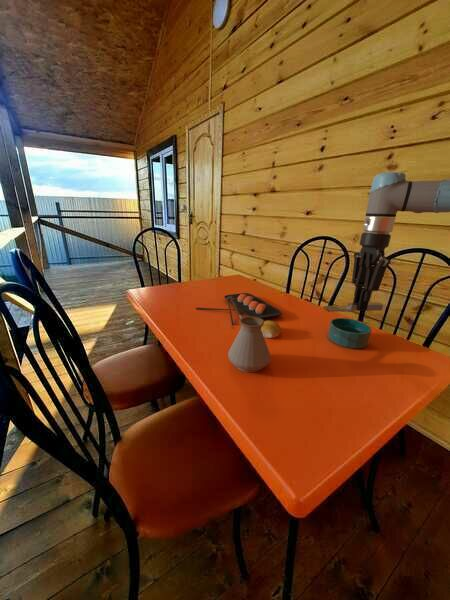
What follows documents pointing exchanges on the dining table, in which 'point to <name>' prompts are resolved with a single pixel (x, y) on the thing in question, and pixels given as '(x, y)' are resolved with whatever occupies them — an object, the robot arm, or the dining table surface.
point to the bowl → (349, 333)
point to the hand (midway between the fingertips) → (359, 308)
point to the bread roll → (270, 329)
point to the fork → (353, 307)
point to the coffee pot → (249, 344)
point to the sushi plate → (250, 306)
